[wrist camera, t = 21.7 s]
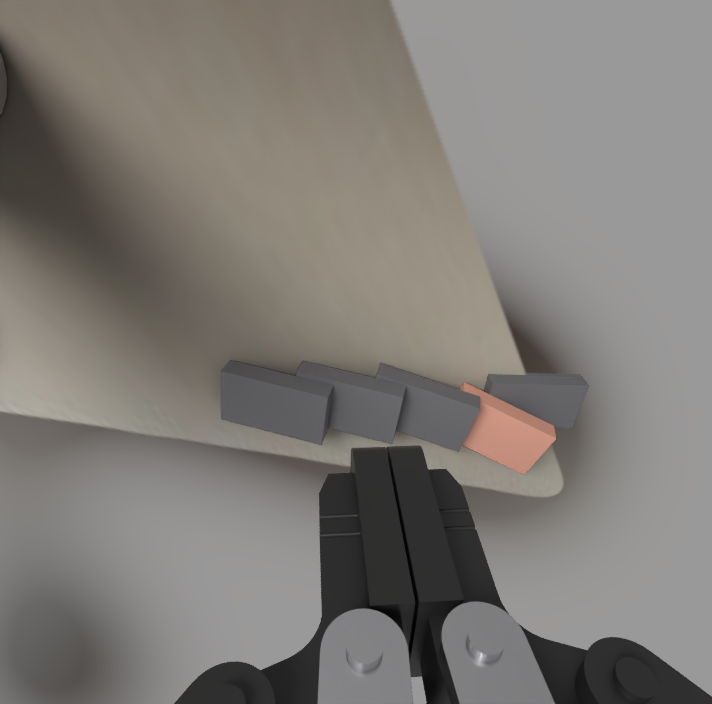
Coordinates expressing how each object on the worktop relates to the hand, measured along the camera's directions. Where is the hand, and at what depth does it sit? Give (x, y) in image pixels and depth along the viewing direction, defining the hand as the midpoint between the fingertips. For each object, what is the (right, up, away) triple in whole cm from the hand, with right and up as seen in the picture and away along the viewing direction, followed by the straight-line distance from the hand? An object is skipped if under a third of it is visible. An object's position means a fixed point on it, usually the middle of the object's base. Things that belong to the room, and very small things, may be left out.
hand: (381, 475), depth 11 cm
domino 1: (-12, 0, +33) cm, 35 cm away
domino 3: (+1, -1, +34) cm, 34 cm away
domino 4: (+8, -2, +35) cm, 36 cm away
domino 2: (-6, -1, +33) cm, 34 cm away
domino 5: (+11, -2, +36) cm, 38 cm away
